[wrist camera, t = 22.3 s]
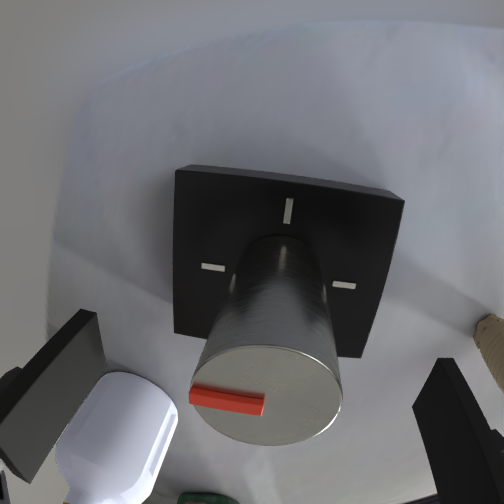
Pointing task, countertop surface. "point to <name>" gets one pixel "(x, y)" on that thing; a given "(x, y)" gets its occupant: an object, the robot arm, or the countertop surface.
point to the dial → (271, 350)
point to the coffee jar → (205, 499)
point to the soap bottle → (116, 441)
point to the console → (287, 224)
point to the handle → (492, 346)
